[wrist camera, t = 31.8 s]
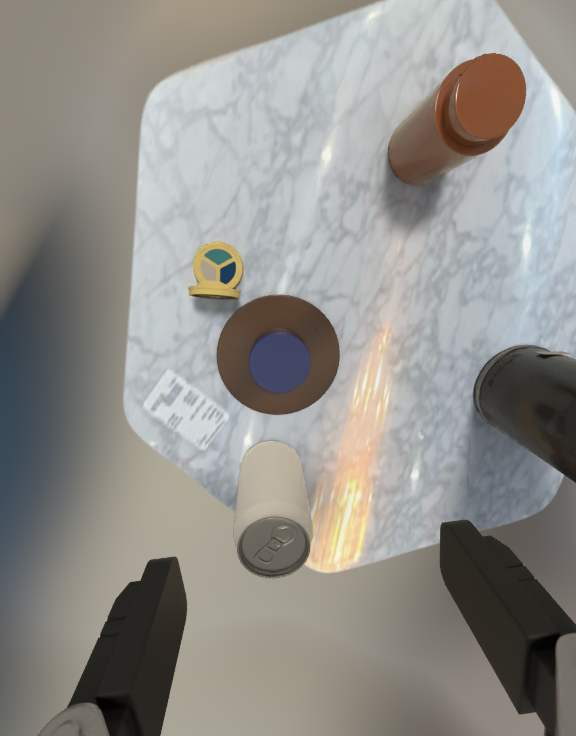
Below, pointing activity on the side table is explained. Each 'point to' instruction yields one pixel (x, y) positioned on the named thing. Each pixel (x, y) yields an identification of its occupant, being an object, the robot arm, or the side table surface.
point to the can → (272, 511)
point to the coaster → (269, 317)
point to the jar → (459, 119)
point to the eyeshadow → (217, 272)
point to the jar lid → (279, 361)
